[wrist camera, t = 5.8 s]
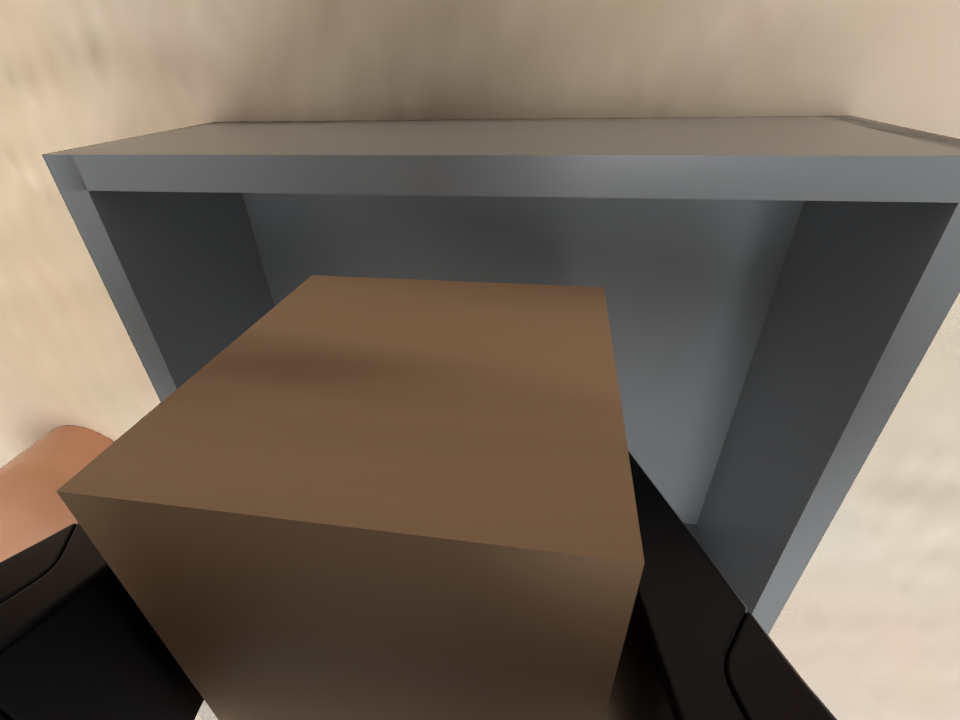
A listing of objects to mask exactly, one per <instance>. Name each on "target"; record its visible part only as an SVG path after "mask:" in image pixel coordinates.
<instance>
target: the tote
mask: <svg viewBox="0 0 960 720" xmlns="http://www.w3.org/2000/svg"><path fill="white" fill-rule="evenodd" d="M42 156H43V158H44V160H45V162H46V164H47V166H48V168H49V170H50V172H51V175H52V177H53V179H54V181H55V183H56V185H57V187H58V189H59V191H60V193H61V195H62V197H63V199H64V202H65V204H66V206H67V208H68V210H69V212H70V214H71V216H72V218H73V220H74V222H75V224H76V227H77V229H78V231H79V233H80V235H81V237H82V239H83V241H84V243H85V245H86V247H87V249H88V251H89V254H90V256H91V258H92V260H93V262H94V264H95V266H96V268H97V270H98V272H99V274H100V276H101V279H102V281H103V283H104V285H105V287H106V289H107V291H108V293H109V295H110V297H111V299H112V301H113V303H114V306H115V308H116V310H117V312H118V314H119V316H120V318H121V320H122V322H123V324H124V326H125V328H126V331H127V333H128V335H129V337H130V339H131V341H132V343H133V345H134V347H135V349H136V351H137V353H138V355H139V358H140V360H141V362H142V364H143V366H144V368H145V370H146V372H147V374H148V376H149V378H150V380H151V383H152V385H153V387H154V389H155V391H156V393H157V395H158V397H159V399H160V401H161V402H162V401H164V400H165V399H166V398H167V397H168V396H169V395H171V394H172V393H173V392H174V391H175V390H177V389H178V388H179V387H180V386H181V385H182V384H184V383H185V382H186V381H187V380H188V379H190V378H191V377H192V376H193V375H194V374H196V373H197V372H198V371H199V370H200V369H201V368H203V367H204V366H205V365H206V364H207V363H209V362H210V361H211V360H212V359H213V358H215V357H216V356H217V355H218V354H219V353H220V352H222V351H223V350H224V349H225V348H226V347H228V346H229V345H230V344H231V343H232V342H233V341H235V340H236V339H237V338H238V337H239V336H241V335H242V334H243V333H244V332H245V331H247V330H248V329H249V328H250V327H251V326H252V325H254V324H255V323H256V322H257V321H258V320H260V319H261V318H262V317H263V316H264V315H265V314H267V313H268V312H269V311H270V310H271V309H273V308H274V307H275V306H276V305H277V304H279V303H280V302H281V301H282V300H283V299H284V298H286V297H287V296H288V295H289V294H290V293H292V292H293V291H294V290H295V289H296V288H297V287H299V286H300V285H301V284H302V283H303V282H305V281H306V280H307V279H308V278H309V277H311V276H312V275H319V276H343V277H368V278H392V279H416V280H440V281H465V282H489V283H513V284H537V285H562V286H586V287H604V291H605V298H606V305H607V311H608V318H609V325H610V332H611V338H612V345H613V352H614V359H615V365H616V372H617V379H618V386H619V393H620V399H621V406H622V413H623V420H624V426H625V433H626V440H627V447H628V450H629V452H630V453H631V454H632V456H633V457H634V458H635V460H636V461H637V462H638V464H639V465H640V466H641V468H642V469H643V470H644V472H645V473H646V474H647V476H648V477H649V478H650V480H651V481H652V482H653V484H654V485H655V486H656V488H657V489H658V490H659V492H660V493H661V494H662V496H663V497H664V498H665V500H666V501H667V502H668V504H669V505H670V506H671V507H672V509H673V510H674V511H675V513H676V514H677V515H678V517H679V518H680V519H681V521H682V522H683V523H684V525H685V526H686V527H687V529H688V530H689V531H690V533H691V534H692V535H693V537H694V538H695V539H696V541H697V542H698V543H699V545H700V546H701V547H702V549H703V550H704V551H705V553H706V554H707V555H708V557H709V558H710V559H711V561H712V562H713V563H714V564H715V566H716V567H717V568H718V570H719V571H720V572H721V574H722V575H723V576H724V578H725V579H726V580H727V582H728V583H729V584H730V586H731V587H732V588H733V590H734V591H735V592H736V594H737V595H738V596H739V598H740V599H741V600H742V602H743V603H744V604H745V606H746V607H747V611H746V613H748V612H749V613H751V614H752V615H753V616H754V617H755V619H756V620H757V621H758V623H759V624H760V625H761V627H762V628H763V629H764V631H765V632H766V633H767V634H769V632H770V630H771V629H772V627H773V625H774V623H775V621H776V620H777V618H778V616H779V614H780V612H781V611H782V609H783V607H784V605H785V604H786V602H787V600H788V598H789V596H790V595H791V593H792V591H793V589H794V587H795V586H796V584H797V582H798V580H799V578H800V577H801V575H802V573H803V571H804V570H805V568H806V566H807V564H808V562H809V561H810V559H811V557H812V555H813V553H814V552H815V550H816V548H817V546H818V544H819V543H820V541H821V539H822V537H823V536H824V534H825V532H826V530H827V528H828V527H829V525H830V523H831V521H832V519H833V518H834V516H835V514H836V512H837V510H838V509H839V507H840V505H841V503H842V502H843V500H844V498H845V496H846V494H847V493H848V491H849V489H850V487H851V485H852V484H853V482H854V480H855V478H856V477H857V475H858V473H859V471H860V469H861V468H862V466H863V464H864V462H865V460H866V459H867V457H868V455H869V453H870V451H871V450H872V448H873V446H874V444H875V443H876V441H877V439H878V437H879V435H880V434H881V432H882V430H883V428H884V426H885V425H886V423H887V421H888V419H889V417H890V416H891V414H892V412H893V410H894V409H895V407H896V405H897V403H898V401H899V400H900V398H901V396H902V394H903V392H904V391H905V389H906V387H907V385H908V383H909V382H910V380H911V378H912V376H913V375H914V373H915V371H916V369H917V367H918V366H919V364H920V362H921V360H922V358H923V357H924V355H925V353H926V351H927V349H928V348H929V346H930V344H931V342H932V341H933V339H934V337H935V335H936V333H937V332H938V330H939V328H940V326H941V324H942V323H943V321H944V319H945V317H946V316H947V314H948V312H949V310H950V308H951V307H952V305H953V303H954V301H955V299H956V298H957V296H958V294H959V292H960V139H956V138H952V137H947V136H942V135H938V134H933V133H928V132H924V131H919V130H915V129H910V128H905V127H901V126H896V125H891V124H887V123H882V122H878V121H873V120H868V119H864V118H859V117H854V116H789V117H687V118H586V119H484V120H383V121H281V122H212V123H207V124H201V125H196V126H191V127H185V128H180V129H175V130H170V131H164V132H159V133H154V134H148V135H143V136H138V137H132V138H127V139H122V140H117V141H111V142H106V143H101V144H95V145H90V146H85V147H79V148H74V149H69V150H64V151H58V152H53V153H48V154H42Z"/></svg>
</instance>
